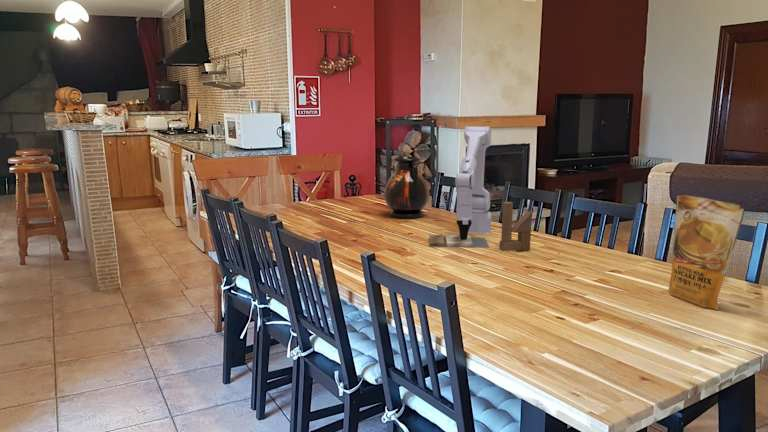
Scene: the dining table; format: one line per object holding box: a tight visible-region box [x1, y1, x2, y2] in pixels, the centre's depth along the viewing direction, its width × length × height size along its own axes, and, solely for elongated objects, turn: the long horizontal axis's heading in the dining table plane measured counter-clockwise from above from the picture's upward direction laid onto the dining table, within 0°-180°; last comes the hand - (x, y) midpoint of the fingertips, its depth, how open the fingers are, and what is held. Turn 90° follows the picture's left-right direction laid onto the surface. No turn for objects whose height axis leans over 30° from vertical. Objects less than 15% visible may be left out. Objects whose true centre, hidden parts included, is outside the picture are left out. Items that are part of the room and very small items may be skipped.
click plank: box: [444, 234, 473, 248], centre depth 221 cm, size 10×14×1 cm
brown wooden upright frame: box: [498, 201, 533, 252], centre depth 210 cm, size 4×11×18 cm, turn 104°
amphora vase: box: [384, 156, 430, 219], centre depth 275 cm, size 22×22×28 cm
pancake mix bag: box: [667, 194, 745, 311], centre depth 154 cm, size 7×19×28 cm, turn 19°
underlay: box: [429, 237, 490, 249], centre depth 221 cm, size 22×16×1 cm
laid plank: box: [428, 234, 446, 247], centre depth 222 cm, size 6×14×1 cm, turn 176°
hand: (463, 239), depth 221 cm, fingers closed, pressing on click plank
